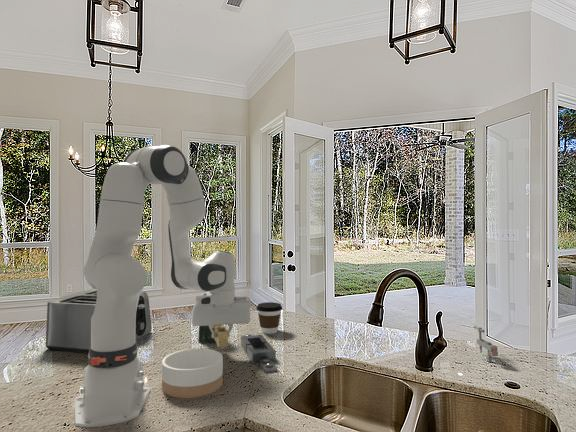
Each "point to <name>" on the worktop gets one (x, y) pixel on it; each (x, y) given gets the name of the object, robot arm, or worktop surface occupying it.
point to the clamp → (486, 345)
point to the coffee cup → (269, 316)
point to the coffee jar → (205, 335)
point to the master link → (221, 335)
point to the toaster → (84, 320)
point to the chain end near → (263, 357)
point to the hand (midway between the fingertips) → (220, 337)
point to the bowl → (192, 373)
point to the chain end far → (253, 342)
